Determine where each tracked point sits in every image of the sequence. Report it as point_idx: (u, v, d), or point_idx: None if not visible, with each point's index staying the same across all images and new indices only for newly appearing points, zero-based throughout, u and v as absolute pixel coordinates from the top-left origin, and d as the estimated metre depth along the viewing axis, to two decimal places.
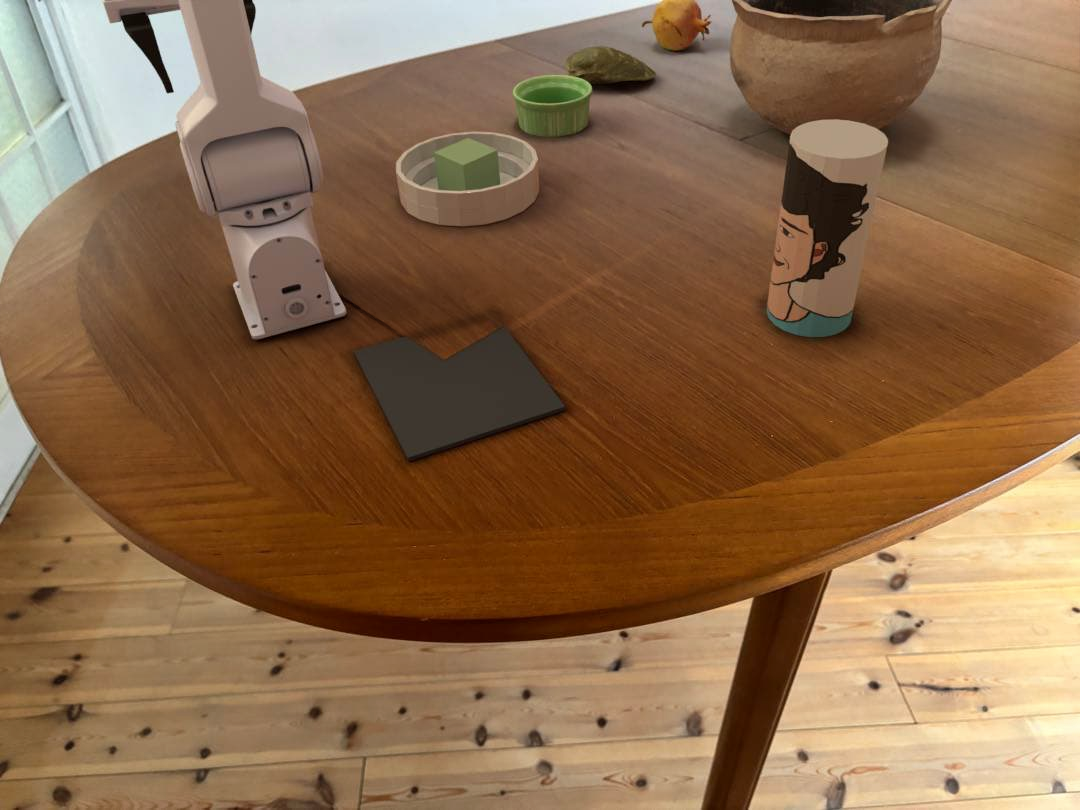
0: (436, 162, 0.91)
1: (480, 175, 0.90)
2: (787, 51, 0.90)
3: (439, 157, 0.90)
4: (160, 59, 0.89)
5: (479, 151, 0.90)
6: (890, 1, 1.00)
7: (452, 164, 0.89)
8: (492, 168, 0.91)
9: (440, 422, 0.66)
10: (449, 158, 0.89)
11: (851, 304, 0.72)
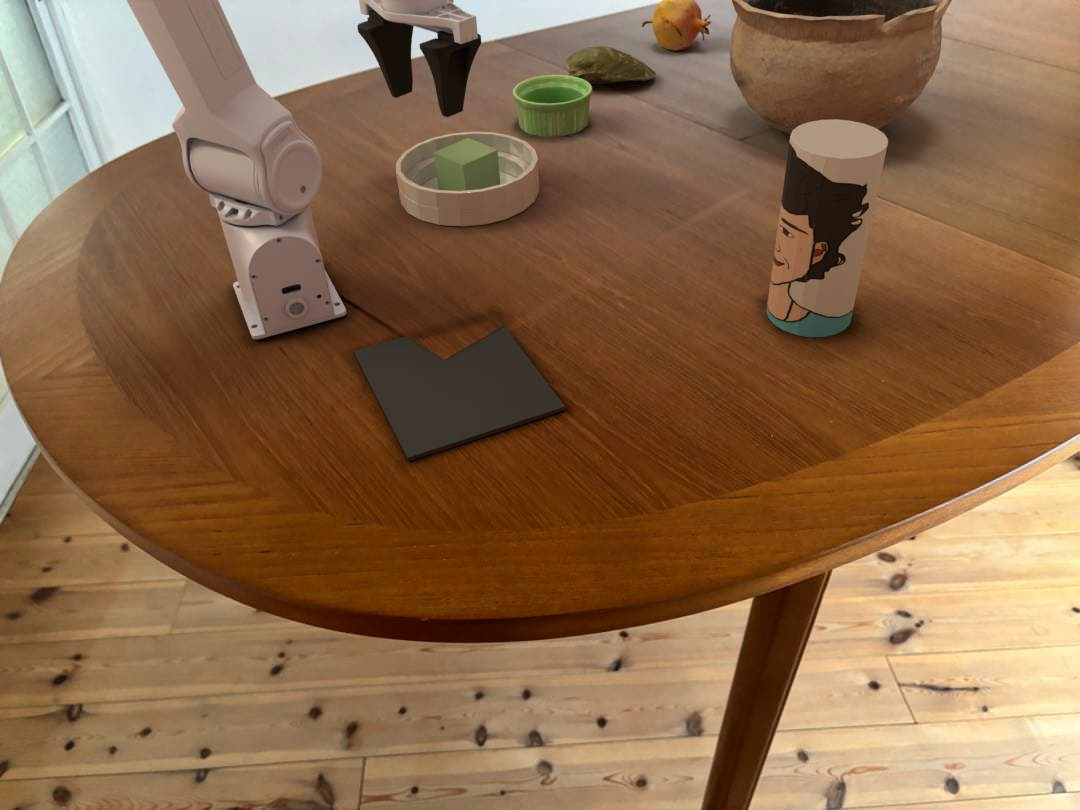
0: (436, 162, 0.91)
1: (480, 175, 0.90)
2: (787, 51, 0.90)
3: (439, 157, 0.90)
4: (383, 62, 0.87)
5: (479, 151, 0.90)
6: (890, 1, 1.00)
7: (452, 164, 0.89)
8: (492, 168, 0.91)
9: (440, 422, 0.66)
10: (449, 158, 0.89)
11: (851, 304, 0.72)
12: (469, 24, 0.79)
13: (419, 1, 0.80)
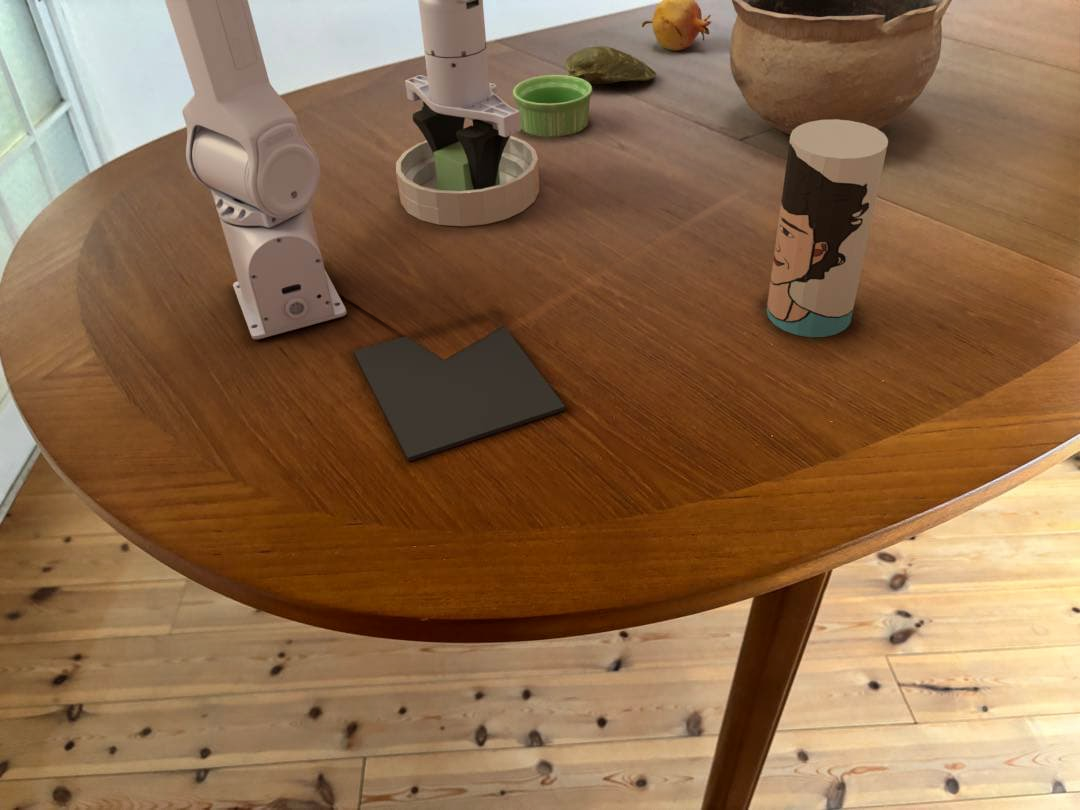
0: (436, 162, 0.91)
1: None
2: (787, 51, 0.90)
3: (439, 157, 0.90)
4: (436, 149, 0.91)
5: None
6: (890, 1, 1.00)
7: (452, 164, 0.89)
8: None
9: (440, 422, 0.66)
10: (449, 158, 0.89)
11: (851, 304, 0.72)
12: (513, 119, 0.83)
13: (466, 95, 0.84)
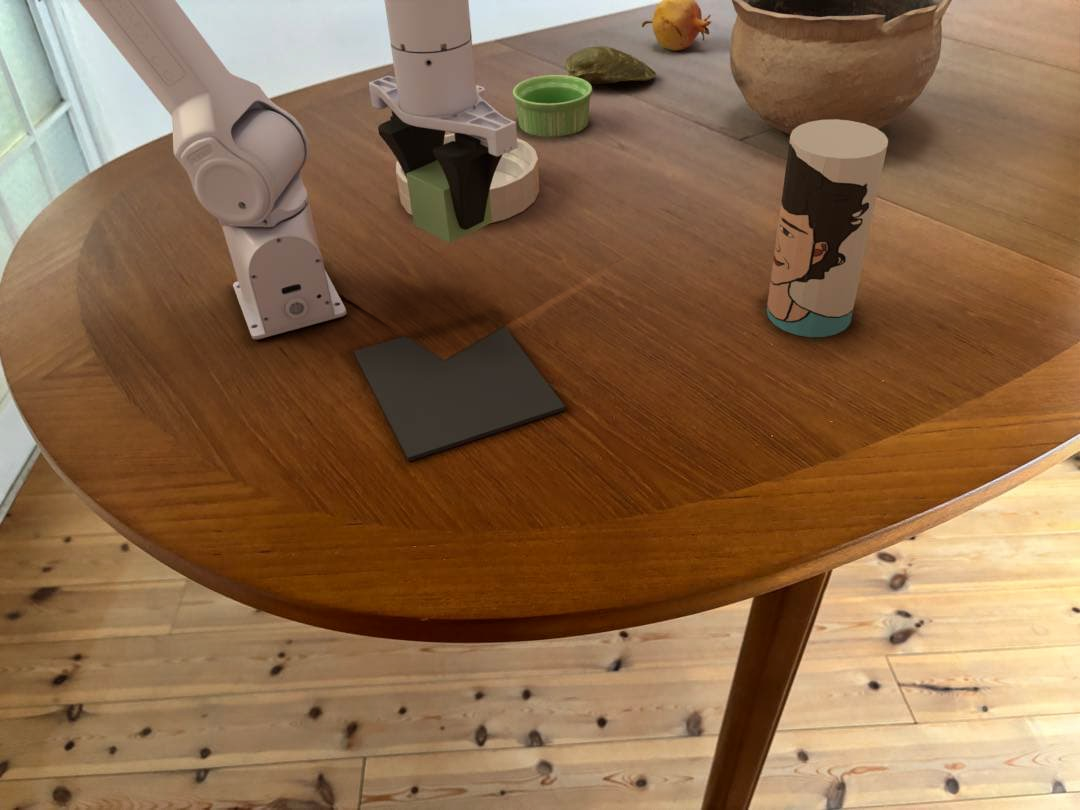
0: (410, 186, 0.71)
1: None
2: (787, 51, 0.90)
3: (413, 179, 0.70)
4: (409, 171, 0.71)
5: None
6: (890, 1, 1.00)
7: (429, 190, 0.70)
8: None
9: (440, 422, 0.66)
10: (425, 181, 0.70)
11: (851, 304, 0.72)
12: (507, 132, 0.63)
13: (445, 102, 0.64)
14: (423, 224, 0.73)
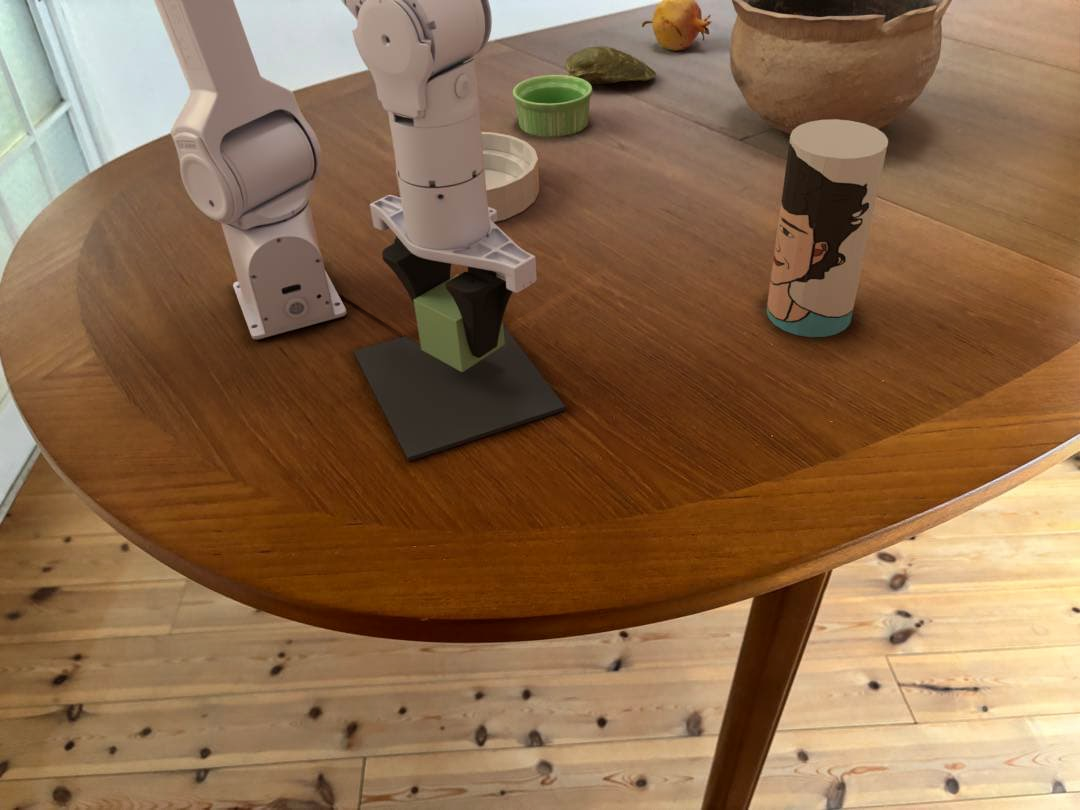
0: (417, 312, 0.67)
1: None
2: (787, 51, 0.90)
3: (422, 306, 0.66)
4: (415, 296, 0.67)
5: None
6: (890, 1, 1.00)
7: (440, 319, 0.65)
8: None
9: (440, 422, 0.66)
10: (435, 309, 0.65)
11: (851, 304, 0.72)
12: (527, 268, 0.59)
13: (458, 235, 0.60)
14: (432, 350, 0.68)
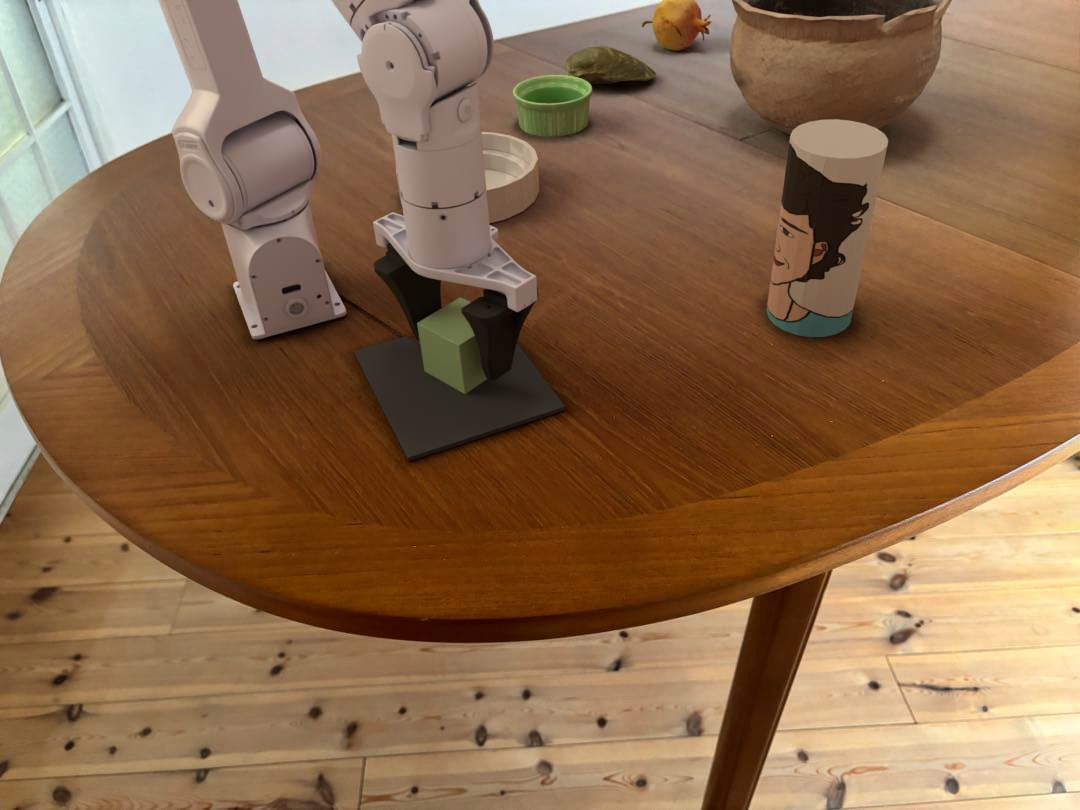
0: (421, 335, 0.68)
1: None
2: (787, 51, 0.90)
3: (425, 330, 0.67)
4: (406, 306, 0.68)
5: None
6: (890, 1, 1.00)
7: (443, 342, 0.66)
8: None
9: (440, 422, 0.66)
10: (438, 333, 0.66)
11: (851, 304, 0.72)
12: (528, 287, 0.60)
13: (460, 255, 0.61)
14: (435, 372, 0.69)
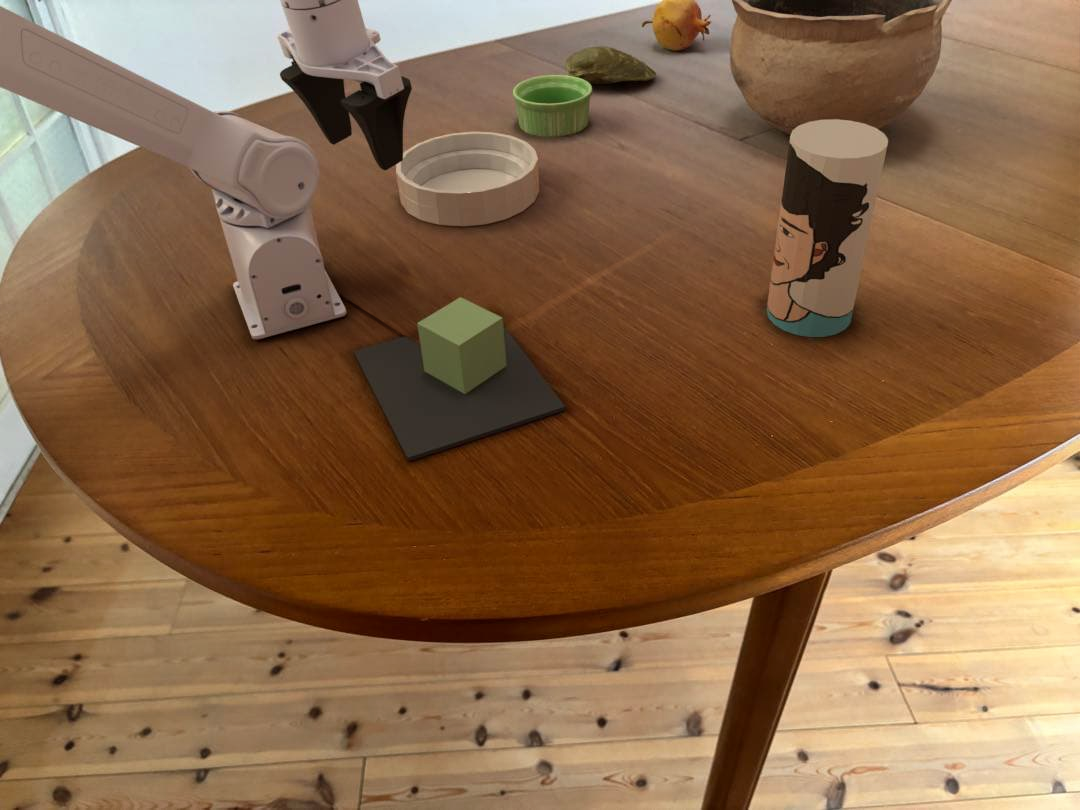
0: (421, 335, 0.68)
1: (480, 353, 0.67)
2: (787, 51, 0.90)
3: (425, 330, 0.67)
4: (313, 110, 0.79)
5: (477, 320, 0.67)
6: (890, 1, 1.00)
7: (443, 342, 0.66)
8: (496, 341, 0.68)
9: (440, 422, 0.66)
10: (438, 333, 0.66)
11: (851, 304, 0.72)
12: (391, 76, 0.70)
13: (335, 52, 0.71)
14: (435, 372, 0.69)
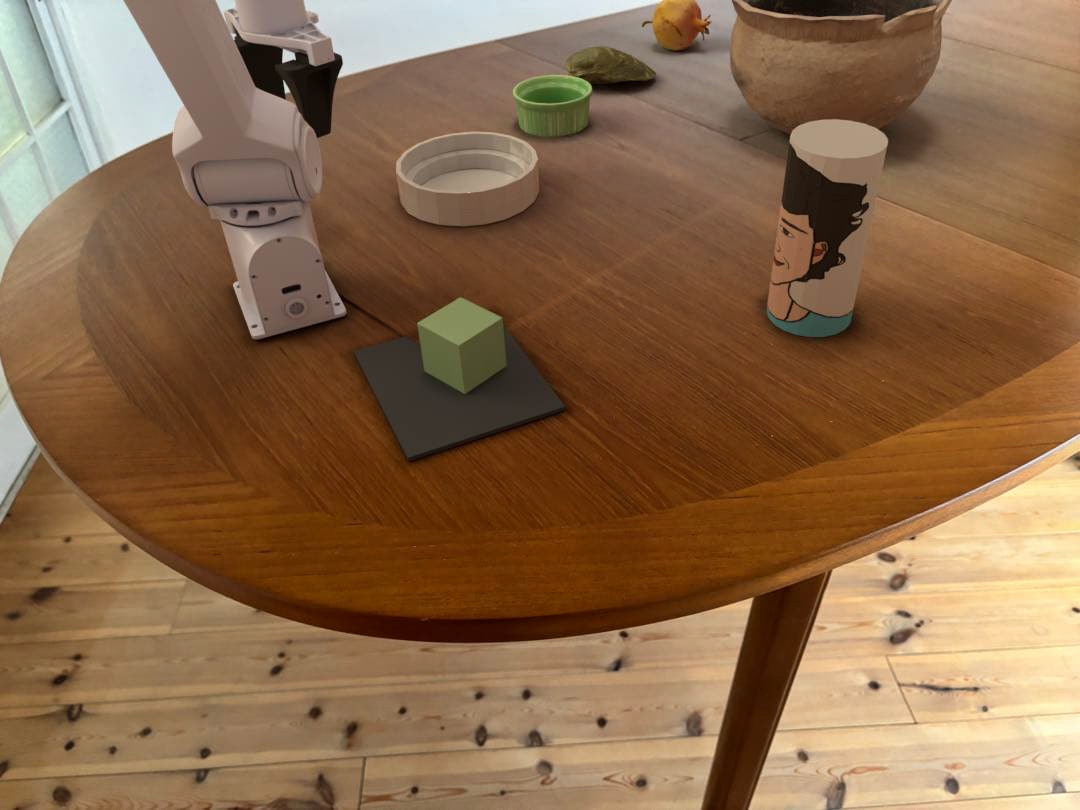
0: (421, 335, 0.68)
1: (480, 353, 0.67)
2: (787, 51, 0.90)
3: (425, 330, 0.67)
4: None
5: (477, 320, 0.67)
6: (890, 1, 1.00)
7: (443, 342, 0.66)
8: (496, 341, 0.68)
9: (440, 422, 0.66)
10: (438, 333, 0.66)
11: (851, 304, 0.72)
12: (323, 46, 0.76)
13: (274, 21, 0.77)
14: (435, 372, 0.69)
